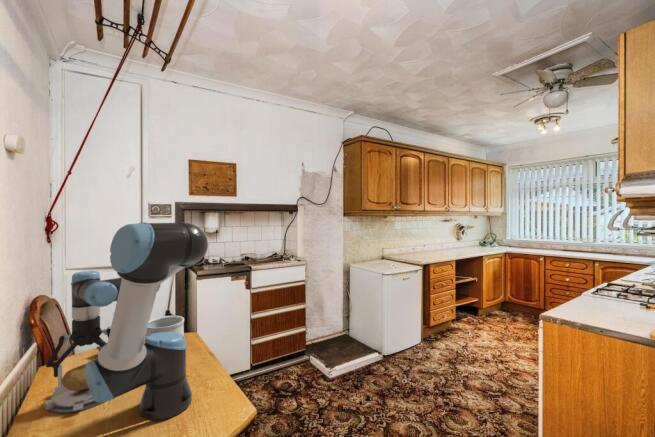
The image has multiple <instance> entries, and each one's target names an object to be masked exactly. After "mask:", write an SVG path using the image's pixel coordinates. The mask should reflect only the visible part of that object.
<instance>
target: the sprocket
mask: <svg viewBox="0 0 655 437" xmlns="http://www.w3.org/2000/svg"><path fill="white" fill-rule="evenodd" d="M96 359H97V358H94V359H90V361H92V360H96ZM53 390H54V392H52V394H51V399H48V400H45V401H44V408H45V409H46V410H47V411H48V410H50V409H51V408H53V407H55V408H59V409H71V408H73V411H75V410H79V409H83V408H84V406H85V405H89V404H92V403H94V402H96V401H95V400H94V399H93V397H92V395H91V393H90V390H89V389H85V390H81V391H71V390H68V389H67V388H65V387H64V386H63V384H62V386H61V387H60V388H58V385H57V386H55V387H54V388H53Z"/></svg>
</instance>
